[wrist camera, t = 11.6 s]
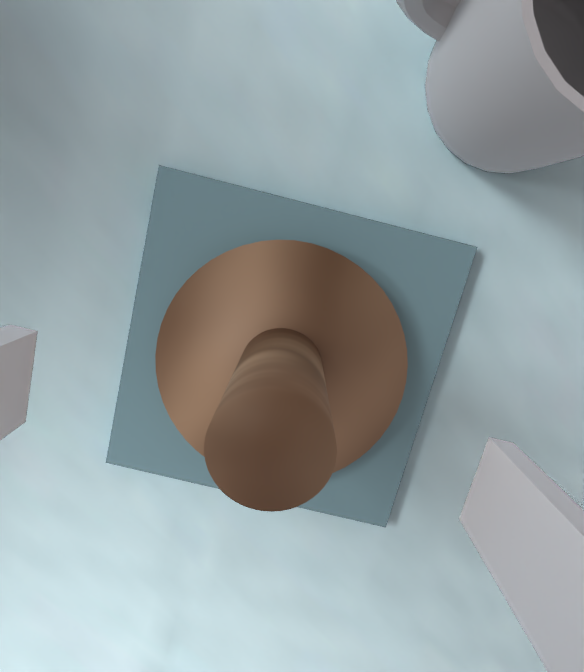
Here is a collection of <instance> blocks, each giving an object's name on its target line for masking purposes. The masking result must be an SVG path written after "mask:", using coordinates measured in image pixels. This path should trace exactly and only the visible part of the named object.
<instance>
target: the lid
mask: <svg viewBox="0 0 584 672" xmlns="http://www.w3.org/2000/svg"><path fill="white" fill-rule="evenodd" d="M155 360H156V376H157V382H158V388H159V391H160V394H161V398H162V401H163V403H164V406H165V408H166V410H167V412H168V415H169V417H170V418H171V420H172V422H173V423H174V425H175V426H176V428H177V430H178V431H179V432H180V433H181V435H182V436H183V437H184V438H185V440H186V441H187V442H188V443H189V444H190V445H191V446H192V447H193V448H194V449H195V450H196V451H197V452H199V453H200V454H201V455H202V456H204V457H205V462H206V465H207V469H208V471H209V473H210V476H211V477H212V479H213V481H214V482H215V484H216V485H217V486H218V487H219V489H220V490H221V491H222V492H223V493H224V494H226V495H227V496H228V497H229V498H231V499H232V500H234V501H235V502H237V503H239V504H241V505H243V506H246V507H248V508H252V509H255V510H261V511H282V510H287V509H291V508H294V507H297V506H300V505H302V504H304V503H306V502H307V501H309V500H310V499H312V498H313V497H314V496H316V495H317V494H318V493H319V492H320V491H321V490H322V489H323V488H324V486H325V485H326V484H327V482H328V481H329V479H330V477H331V475H332V473H334V472H336V471H338V470H340V469H342V468H345V467H346V466H348V465H349V464H351V463H353V462H354V461H356V460H357V459H359V458H360V457H361V456H362V455H363V454H365V453H366V452H367V451H368V450H370V449H371V447H372V446H373V445H374V444H375V443H376V442H377V441H378V440H379V439H380V438H381V437H382V435H383V434H384V432H385V431H386V430H387V428H388V427H389V425H390V424H391V422H392V420H393V418H394V416H395V414H396V413H397V410H398V408H399V405H400V403H401V400H402V397H403V393H404V389H405V385H406V379H407V368H408V360H407V347H406V341H405V335H404V332H403V329H402V326H401V322H400V319H399V317H398V315H397V313H396V311H395V309H394V307H393V305H392V303H391V301H390V300H389V298H388V297H387V295H386V294H385V292H384V291H383V289H382V288H381V287H380V286H379V285H378V284H377V283H376V281H375V280H374V279H373V278H372V277H371V276H370V275H369V274H368V273H366V272H365V271H364V270H363V269H362V268H361V267H359V266H358V265H357V264H355V263H354V262H352V261H350V260H349V259H347V258H346V257H344V256H342V255H340V254H338V253H336V252H334V251H332V250H330V249H328V248H325V247H322V246H319V245H316V244H312V243H308V242H302V241H297V240H267V241H260V242H255V243H251V244H246V245H242V246H240V247H237V248H234V249H232V250H229V251H227V252H225V253H223V254H221V255H219V256H217V257H215V258H214V259H212V260H210V261H209V262H208V263H206V264H205V265H204V266H202V267H201V268H199V269H198V270H197V271H196V272H195V273H194V274H193V275H192V276H191V277H190V278H189V279H188V280H187V281H186V282H185V283H184V284H183V286H182V287H181V288H180V289H179V291H178V292H177V293H176V295H175V296H174V298H173V300H172V301H171V303H170V305H169V307H168V308H167V311H166V313H165V316H164V318H163V320H162V323H161V326H160V330H159V334H158V338H157V345H156V354H155Z"/></svg>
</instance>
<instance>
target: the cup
mask: <svg viewBox="0 0 584 672" xmlns="http://www.w3.org/2000/svg"><path fill="white" fill-rule="evenodd" d="M396 1H397V3H398V5H399V6H400V8H401V9H402V11H403V12H404V13H405V15H406V16H407V18H408V19H409V20H410V21H411V22H413V23H414V24H415V25H416V26H417V27H418V28H419V29H421V30H422V31H423V32H424V33H426V34H428V35H429V36H431V37H432V38H434V39H435V40H436V42H435V45H434V47H433V50H432V53H431V55H430V58H429V60H428V67H427V74H426V81H425V92H426V101H427V110H428V113H429V116H430V118H431V121H432V124H433V126H434V129H435V132H436V133H437V134H438V136H439V137H440V139H441V140H442V141H443V143H444V144H445V145H446V147H447V148H448V150H450V151H451V152H452V153H453V154H455V155H456V156H457V157H458V158H460V159H461V160H462V161H464V162H465V163H466V164H469V165H471V166H474V167H476V168H479V169H481V170H484V171H488V172H498V173H515V172H521V171H526V170H532V169H537V168H541V167H545V166H549V165H552V164H556V163H560V162H563V161H567V160H571V159H574V158H578V157H582V156H584V0H396Z"/></svg>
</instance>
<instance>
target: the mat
mask: <svg viewBox="0 0 584 672" xmlns="http://www.w3.org/2000/svg"><path fill="white" fill-rule="evenodd" d="M267 240H297V241H302V242H308V243H312V244H316V245H319V246H322V247H325V248H328V249H330V250H332V251H334V252H336V253H338V254H340V255H342V256H344V257H346V258H347V259H349V260H350V261H352V262H354V263H355V264H357V265H358V266H359V267H361V268H362V269H363V270H364V271H365V272H366V273H368V274H369V275H370V276H371V277H372V278H373V279H374V280H375V281H376V283H377V284H378V285H379V286H380V287H381V288H382V289H383V291H384V292H385V294H386V295H387V297H388V298H389V300H390V301H391V303H392V305H393V307H394V309H395V311H396V313H397V315H398V317H399V319H400V322H401V326H402V329H403V332H404V335H405V341H406V347H407V360H408V368H407V379H406V385H405V389H404V393H403V397H402V400H401V403H400V405H399V408H398V410H397V413H396V414H395V416H394V418H393V420H392V422H391V424H390V425H389V427H388V428H387V430H386V431H385V432H384V434H383V435H382V437H381V438H380V439H379V440H378V441H377V442H376V443H375V444H374V445H373V446H372V447H371V449H370V450H368V451H367V452H366V453H365V454H363V455H362V456H361V457H360V458H359V459H357V460H356V461H354V462H353V463H351V464H349V465H348V466H346V467H345V468H342V469H340V470H338V471H336V472H334V473H332V475H331V477H330V479H329V481H328V482H327V484H326V485H325V486H324V488H323V489H322V490H321V491H320V492H319V493H318V494H317V495H316V496H314V497H313V498H312V499H310V500H309V501H307V502H306V503H304V504H302V505H300V506H297V507H300V508H304V509H309V510H313V511H317V512H322V513H326V514H330V515H335V516H339V517H343V518H348V519H352V520H356V521H360V522H365V523H369V524H373V525H378V526H382V527H386V525H387V522H388V519H389V516H390V512H391V509H392V506H393V503H394V500H395V497H396V494H397V491H398V488H399V485H400V482H401V479H402V476H403V473H404V470H405V467H406V464H407V461H408V458H409V454H410V451H411V448H412V445H413V442H414V439H415V436H416V433H417V430H418V427H419V424H420V421H421V418H422V415H423V412H424V409H425V406H426V403H427V400H428V397H429V393H430V390H431V387H432V384H433V381H434V378H435V375H436V372H437V369H438V366H439V363H440V360H441V357H442V354H443V351H444V348H445V345H446V342H447V339H448V335H449V332H450V329H451V326H452V323H453V320H454V317H455V314H456V311H457V308H458V305H459V302H460V299H461V296H462V293H463V290H464V287H465V284H466V281H467V277H468V274H469V271H470V268H471V265H472V262H473V259H474V256H475V253H476V250H477V247H475V246H471V245H467V244H463V243H459V242H455V241H451V240H448V239H444V238H440V237H436V236H432V235H428V234H424V233H420V232H416V231H413V230H409V229H405V228H401V227H397V226H393V225H389V224H385V223H382V222H378V221H374V220H370V219H366V218H362V217H358V216H354V215H350V214H347V213H343V212H339V211H335V210H331V209H327V208H323V207H319V206H316V205H312V204H308V203H304V202H300V201H296V200H292V199H288V198H285V197H281V196H277V195H273V194H269V193H265V192H261V191H257V190H253V189H250V188H246V187H242V186H238V185H234V184H230V183H226V182H222V181H219V180H215V179H211V178H207V177H203V176H199V175H195V174H191V173H187V172H184V171H180V170H176V169H172V168H168V167H164V166H160V165H159V168H158V174H157V179H156V185H155V190H154V196H153V202H152V207H151V213H150V218H149V224H148V230H147V235H146V241H145V246H144V252H143V258H142V263H141V269H140V274H139V280H138V286H137V291H136V297H135V302H134V308H133V314H132V319H131V325H130V330H129V336H128V342H127V347H126V353H125V358H124V364H123V370H122V375H121V381H120V386H119V392H118V397H117V403H116V409H115V414H114V420H113V425H112V431H111V437H110V442H109V448H108V453H107V459H106V463H110V464H114V465H119V466H123V467H127V468H132V469H136V470H140V471H144V472H149V473H153V474H157V475H162V476H166V477H170V478H175V479H179V480H183V481H188V482H192V483H196V484H201V485H205V486H209V487H214V488H218V489H219V487H218V486H217V485H216V484H215V482H214V481H213V479H212V477H211V476H210V473H209V471H208V469H207V465H206V462H205V457H204V456H202V455H201V454H200V453H199V452H197V451H196V450H195V449H194V448H193V447H192V446H191V445H190V444H189V443H188V442H187V441H186V440H185V438H184V437H183V436H182V435H181V433H180V432H179V431H178V430H177V428H176V426H175V425H174V423H173V422H172V420H171V418H170V417H169V415H168V412H167V410H166V408H165V406H164V403H163V401H162V398H161V394H160V391H159V388H158V382H157V376H156V360H155V354H156V345H157V338H158V334H159V330H160V326H161V323H162V320H163V318H164V316H165V313H166V311H167V308H168V307H169V305H170V303H171V301H172V300H173V298H174V296H175V295H176V293H177V292H178V291H179V289H180V288H181V287H182V286H183V284H184V283H185V282H186V281H187V280H188V279H189V278H190V277H191V276H192V275H193V274H194V273H195V272H196V271H197V270H198V269H199V268H201V267H202V266H204V265H205V264H206V263H208V262H209V261H210V260H212V259H214V258H215V257H217V256H219V255H221V254H223V253H225V252H227V251H229V250H232V249H234V248H237V247H240V246H242V245H246V244H251V243H255V242H260V241H267Z"/></svg>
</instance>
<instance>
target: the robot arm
mask: <svg viewBox="0 0 584 672" xmlns="http://www.w3.org/2000/svg"><path fill="white" fill-rule="evenodd" d="M37 332H38V331H36V330H31V329H27V328H23V327H18V326H14V325H10V324H9V325H7V326H4V327H1V328H0V440H1V439H3V438H4V437H6V436H7V435H8V434H10V433H11V432H12V431H14V430H15V429H16V428H18V427H19V426H21V425H22V424H23V423H25V422H26V415H27V407H28V400H29V392H30V385H31V377H32V370H33V362H34V354H35V347H36V339H37ZM459 520H460V522H461V523H462V525H463V527H464V529H465V530H466V532H467V534H468V535H469V537H470V539H471V541H472V542H473V544H474V546H475V548H476V549H477V551H478V553H479V554H480V556H481V558H482V560H483V561H484V563H485V565H486V566H487V568H488V570H489V572H490V573H491V575H492V577H493V579H494V580H495V582H496V584H497V585H498V587H499V589H500V591H501V592H502V594H503V596H504V597H505V599H506V601H507V603H508V604H509V606H510V608H511V609H512V611H513V613H514V615H515V616H516V618H517V620H518V622H519V623H520V625H521V627H522V628H523V630H524V632H525V634H526V635H527V637H528V639H529V640H530V642H531V644H532V646H533V647H534V649H535V651H536V653H537V654H538V656H539V658H540V659H541V661H542V663H543V665H544V666H545V668H546V670H547V671H548V672H584V510H583V509H582V508H581V507H580V506H579V505H578V504H577V503H576V502H575V501H574V500H573V499H572V498H571V497H570V496H569V495H567V494H566V493H565V492H564V491H563V490H562V489H561V488H560V487H559V486H558V485H557V484H556V483H555V482H554V481H553V480H552V479H551V478H550V477H549V476H548V475H547V474H546V473H545V472H544V471H542V470H541V469H540V468H539V467H538V466H537V465H536V464H535V463H534V462H533V461H532V460H531V459H530V458H529V457H528V456H527V455H526V454H525V453H524V452H523V451H522V450H521V449H520V448H518V447H517V446H516V445H515V444H514V443H512V442H508V441H504V440H499V439H495V438H491V437H489V438H488V441H487V443H486V446H485V449H484V451H483V454H482V457H481V460H480V462H479V465H478V468H477V470H476V473H475V476H474V479H473V481H472V484H471V487H470V490H469V492H468V495H467V498H466V500H465V503H464V506H463V509H462V511H461V514H460V517H459Z"/></svg>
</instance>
